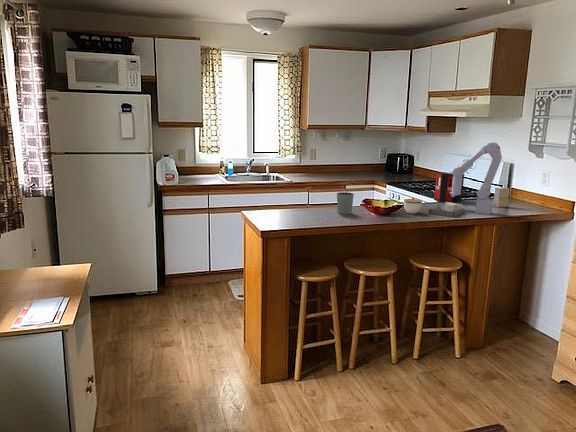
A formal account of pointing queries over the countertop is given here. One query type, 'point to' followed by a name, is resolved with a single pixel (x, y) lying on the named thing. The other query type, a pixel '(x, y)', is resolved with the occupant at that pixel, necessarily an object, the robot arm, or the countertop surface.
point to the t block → (452, 206)
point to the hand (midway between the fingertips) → (454, 206)
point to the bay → (437, 211)
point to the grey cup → (344, 202)
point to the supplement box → (501, 197)
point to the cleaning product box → (445, 187)
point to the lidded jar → (412, 205)
